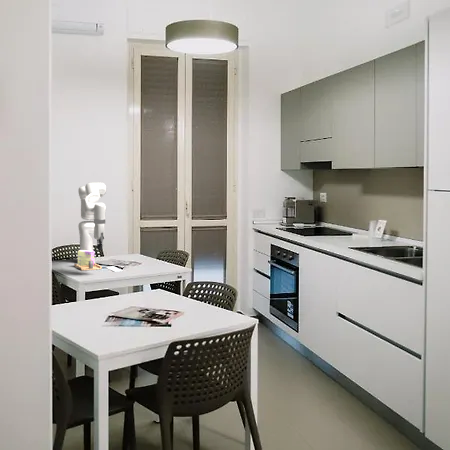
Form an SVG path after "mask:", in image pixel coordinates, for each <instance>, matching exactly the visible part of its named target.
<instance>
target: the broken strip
mask: <svg viewBox="0 0 450 450" xmlns="http://www.w3.org/2000/svg"><path fill="white" fill-rule="evenodd" d="M105 268H106V269H108V270H110V271H112V272H113V273H118V272H119V273H121V272H123V269H121V268H118V267H116V266H105Z"/></svg>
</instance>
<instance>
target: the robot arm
mask: <svg viewBox="0 0 450 450" xmlns="http://www.w3.org/2000/svg"><path fill="white" fill-rule="evenodd" d="M106 192H107V185H106V184H105V183H104V182H88V183H86V184H85V185H82V186H79V187H78V196H79V199H80V218H81V219H82V220H83V221H80V222H79V223H78V226H77V227H78V232H79V233H78V235H79V250H89V251H94V240H96V249H97V251H103V243H104V239H105V236H106V232H105V225H106V211H107V206H106V203H104V202H99V201H100V199H101V198H102V197H104V196H105V195H106V194H107V193H106ZM91 234H92V235H93V237H92V235H91ZM93 238H94V240H93ZM94 263H96V261H95V260H94Z"/></svg>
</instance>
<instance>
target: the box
mask: <svg viewBox="0 0 450 450" xmlns="http://www.w3.org/2000/svg"><path fill="white" fill-rule="evenodd" d="M89 261H93V265H94V261H95V250H93V251H89V250H80V249H79V250H77V265H79V266H84V265H89Z"/></svg>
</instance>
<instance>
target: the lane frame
mask: <svg viewBox="0 0 450 450" xmlns="http://www.w3.org/2000/svg"><path fill="white" fill-rule="evenodd" d="M73 266H74V267H75V268H76V269H78V270H80V271H92V270H95V271H96V270H102V268H103V267H102V266H101V265H99V264H97V263H96V262H95V263H94V265H93V261H89V265H84V266H79V265H78V263H74V265H73Z"/></svg>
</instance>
